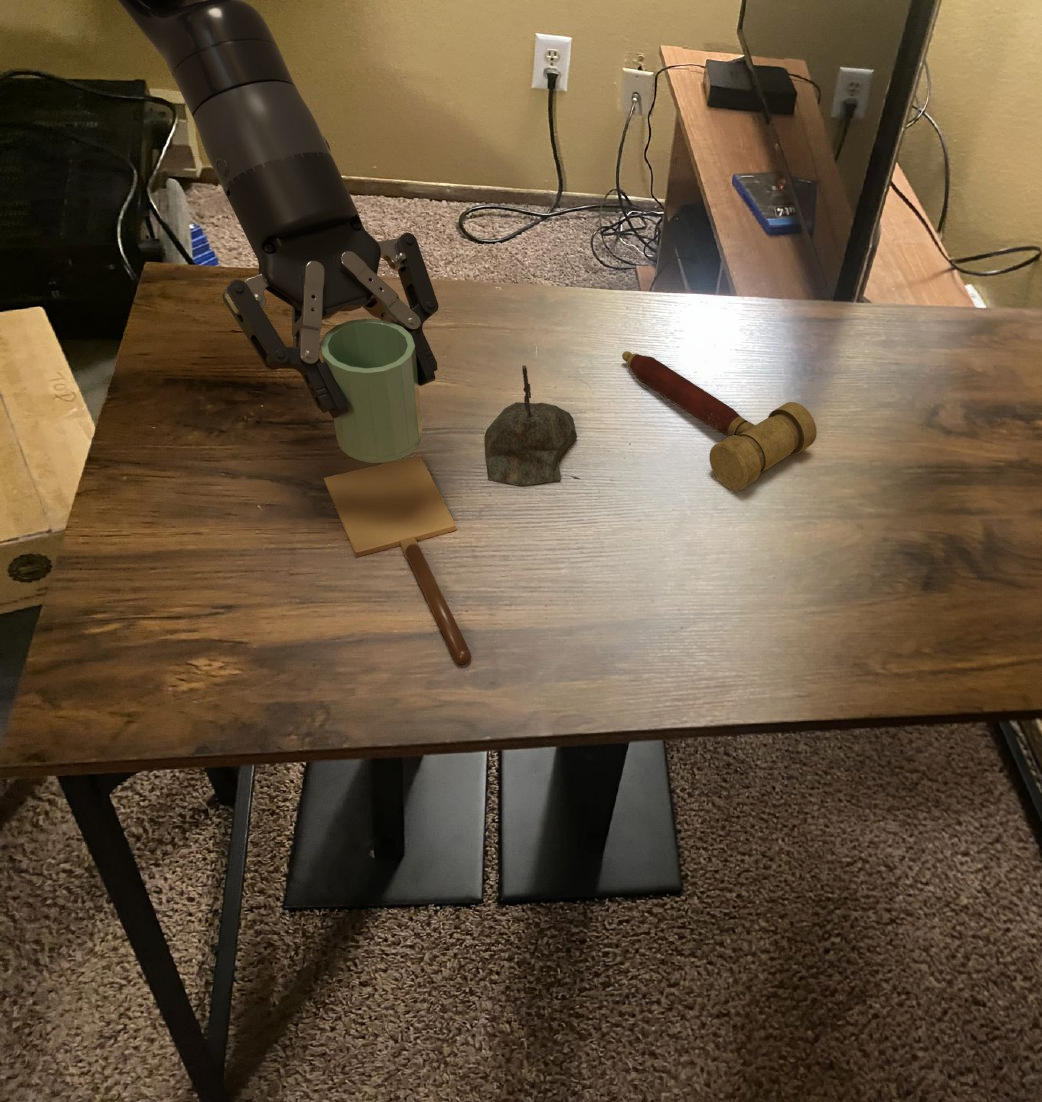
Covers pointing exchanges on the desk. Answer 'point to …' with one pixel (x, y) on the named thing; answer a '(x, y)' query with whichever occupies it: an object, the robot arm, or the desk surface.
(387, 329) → the pot
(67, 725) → the desk surface
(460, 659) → the spatula
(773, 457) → the gavel
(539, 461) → the sword in stone
